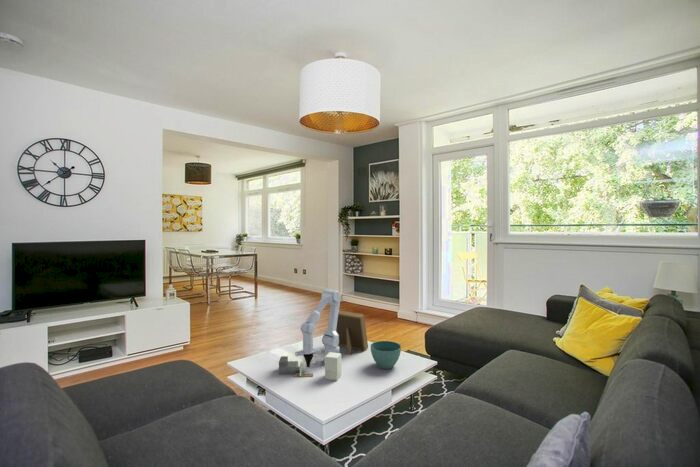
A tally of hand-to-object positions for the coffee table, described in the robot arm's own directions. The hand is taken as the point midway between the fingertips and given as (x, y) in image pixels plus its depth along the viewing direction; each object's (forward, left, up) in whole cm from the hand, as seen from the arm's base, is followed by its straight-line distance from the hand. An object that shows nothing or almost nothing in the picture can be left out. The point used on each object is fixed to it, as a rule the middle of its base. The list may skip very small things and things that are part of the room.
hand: (308, 366), depth 202 cm
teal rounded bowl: (-46, -5, -3) cm, 46 cm away
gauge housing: (+11, 0, -2) cm, 12 cm away
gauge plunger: (+8, +2, -2) cm, 9 cm away
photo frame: (-25, -33, -3) cm, 41 cm away
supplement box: (-15, +9, -3) cm, 17 cm away
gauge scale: (+2, +6, -2) cm, 7 cm away
